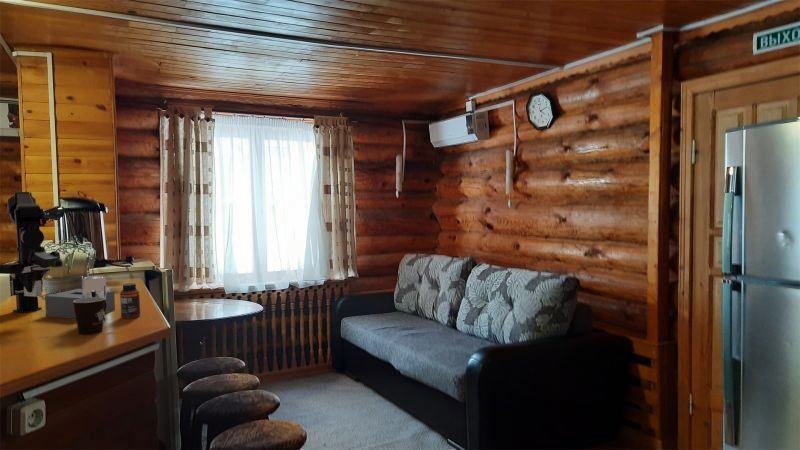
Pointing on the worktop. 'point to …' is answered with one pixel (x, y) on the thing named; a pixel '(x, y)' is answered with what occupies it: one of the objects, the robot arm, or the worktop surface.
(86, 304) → the coffee mug
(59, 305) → the coin box
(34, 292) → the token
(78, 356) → the worktop surface
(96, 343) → the worktop surface
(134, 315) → the supplement bottle
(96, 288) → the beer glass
